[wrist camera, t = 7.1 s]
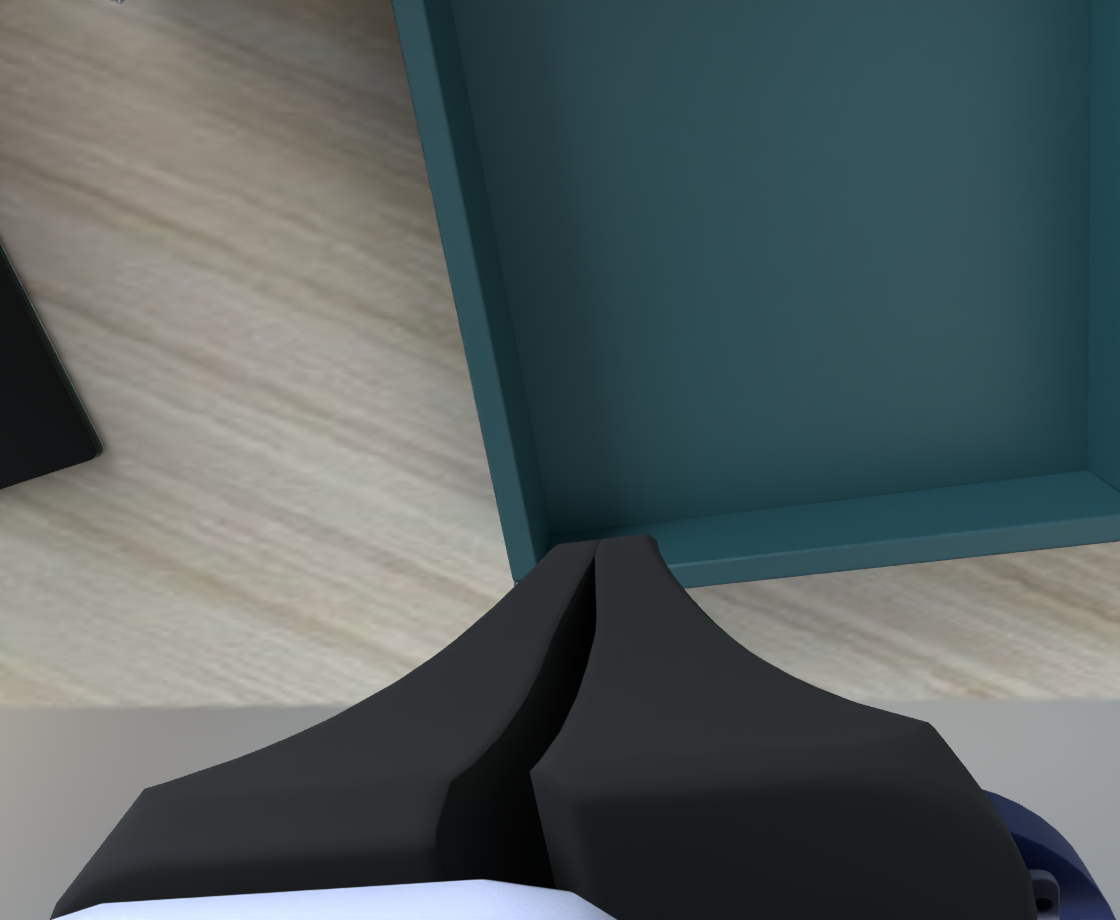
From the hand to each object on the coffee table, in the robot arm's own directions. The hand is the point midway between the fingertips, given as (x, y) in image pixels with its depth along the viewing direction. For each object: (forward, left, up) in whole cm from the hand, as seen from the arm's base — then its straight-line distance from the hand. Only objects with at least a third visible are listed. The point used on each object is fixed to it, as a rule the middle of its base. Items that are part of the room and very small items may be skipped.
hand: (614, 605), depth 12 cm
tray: (+5, -4, -9) cm, 11 cm away
